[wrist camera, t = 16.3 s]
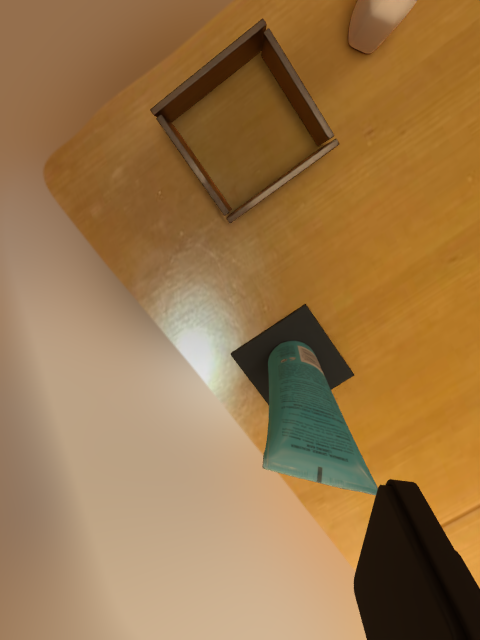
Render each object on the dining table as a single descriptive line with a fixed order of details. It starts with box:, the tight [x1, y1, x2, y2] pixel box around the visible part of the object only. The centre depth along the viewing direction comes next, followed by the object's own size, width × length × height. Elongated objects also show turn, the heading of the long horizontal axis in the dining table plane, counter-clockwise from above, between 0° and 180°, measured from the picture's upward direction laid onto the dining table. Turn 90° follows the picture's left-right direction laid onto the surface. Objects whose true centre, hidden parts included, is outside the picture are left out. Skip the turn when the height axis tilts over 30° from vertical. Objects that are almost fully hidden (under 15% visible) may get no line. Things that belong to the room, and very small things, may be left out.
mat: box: [231, 304, 354, 405], centre depth 46 cm, size 9×9×1 cm
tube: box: [263, 341, 378, 495], centre depth 37 cm, size 7×5×19 cm, turn 80°
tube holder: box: [150, 19, 339, 223], centre depth 38 cm, size 10×10×6 cm
